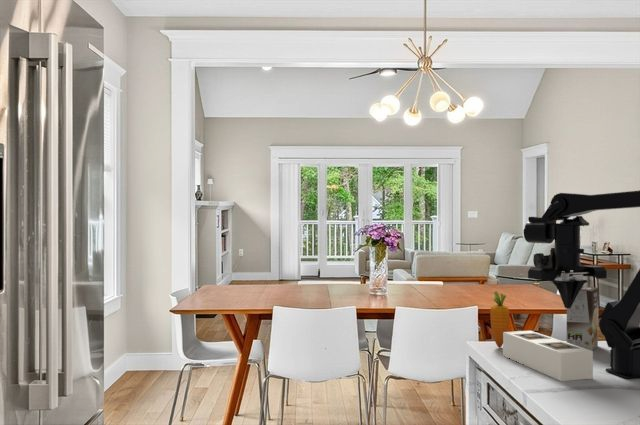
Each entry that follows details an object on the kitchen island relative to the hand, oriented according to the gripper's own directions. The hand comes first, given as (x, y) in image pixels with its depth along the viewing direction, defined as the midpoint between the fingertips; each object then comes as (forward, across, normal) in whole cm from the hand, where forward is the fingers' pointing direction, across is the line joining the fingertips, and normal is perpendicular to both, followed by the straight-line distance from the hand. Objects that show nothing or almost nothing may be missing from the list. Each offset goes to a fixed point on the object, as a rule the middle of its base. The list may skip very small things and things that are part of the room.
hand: (567, 308), depth 135 cm
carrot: (+13, +8, -16) cm, 22 cm away
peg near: (+13, +9, +8) cm, 17 cm away
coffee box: (+13, -14, -11) cm, 22 cm away
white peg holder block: (+13, +9, +3) cm, 16 cm away
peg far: (+13, +9, -2) cm, 16 cm away
